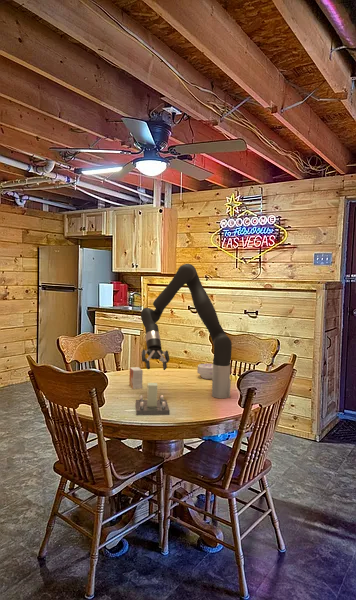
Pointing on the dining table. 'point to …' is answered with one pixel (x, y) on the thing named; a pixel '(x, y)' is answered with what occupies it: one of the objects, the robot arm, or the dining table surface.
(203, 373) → the paper bowls
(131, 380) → the small box
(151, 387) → the beige tall block
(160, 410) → the pin plate
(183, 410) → the dining table surface
